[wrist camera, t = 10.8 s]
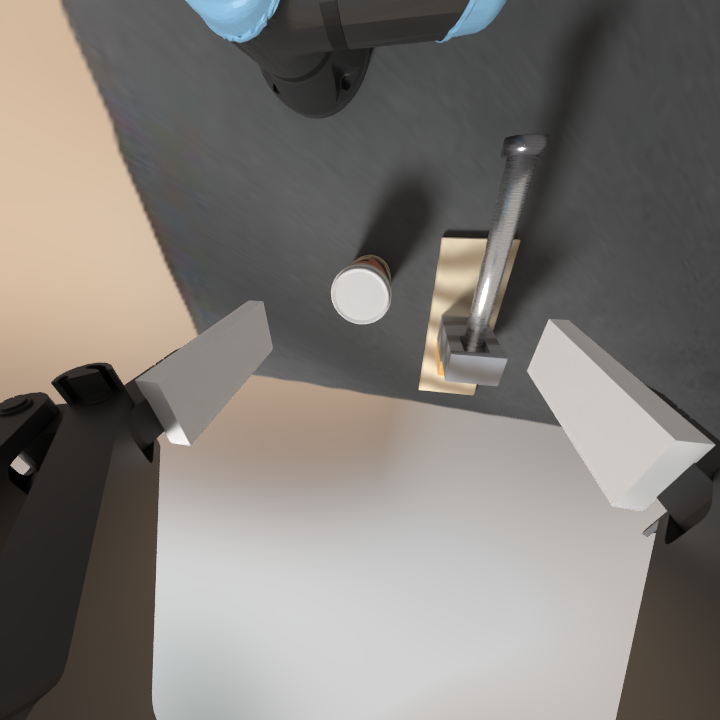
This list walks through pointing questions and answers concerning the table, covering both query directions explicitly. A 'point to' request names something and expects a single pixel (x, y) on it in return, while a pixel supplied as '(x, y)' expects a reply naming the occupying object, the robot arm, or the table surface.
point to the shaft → (502, 230)
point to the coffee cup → (363, 290)
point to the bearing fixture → (461, 321)
